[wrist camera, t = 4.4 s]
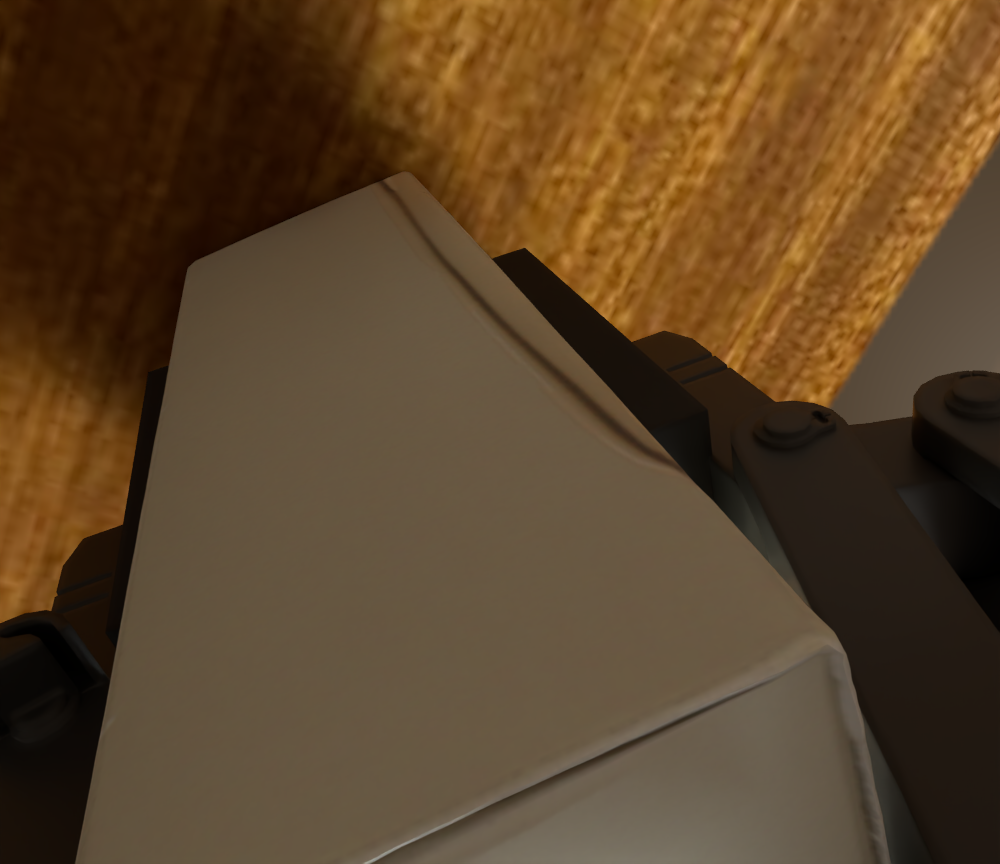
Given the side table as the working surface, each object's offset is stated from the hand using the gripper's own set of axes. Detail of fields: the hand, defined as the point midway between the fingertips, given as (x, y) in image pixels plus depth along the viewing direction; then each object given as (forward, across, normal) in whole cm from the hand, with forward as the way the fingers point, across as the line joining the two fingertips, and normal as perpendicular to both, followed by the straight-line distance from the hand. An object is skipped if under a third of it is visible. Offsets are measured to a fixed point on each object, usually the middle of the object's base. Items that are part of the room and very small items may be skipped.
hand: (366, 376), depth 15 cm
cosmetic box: (+1, 0, 0) cm, 1 cm away
